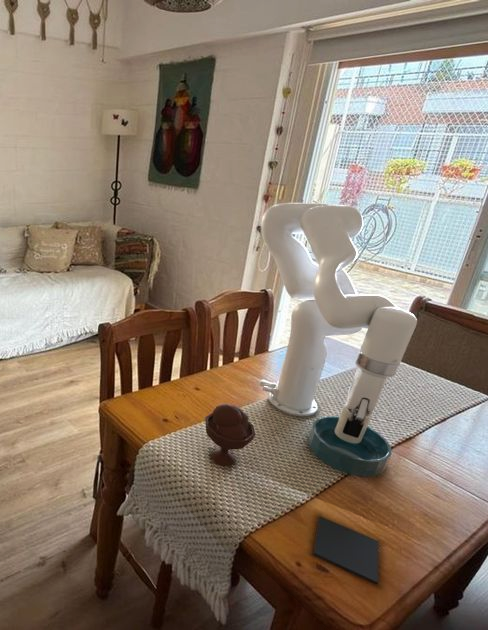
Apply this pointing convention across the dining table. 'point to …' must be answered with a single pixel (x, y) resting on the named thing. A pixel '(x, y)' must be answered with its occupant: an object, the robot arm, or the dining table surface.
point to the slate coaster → (347, 549)
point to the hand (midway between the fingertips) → (351, 426)
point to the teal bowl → (349, 449)
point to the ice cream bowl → (228, 432)
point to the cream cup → (342, 421)
